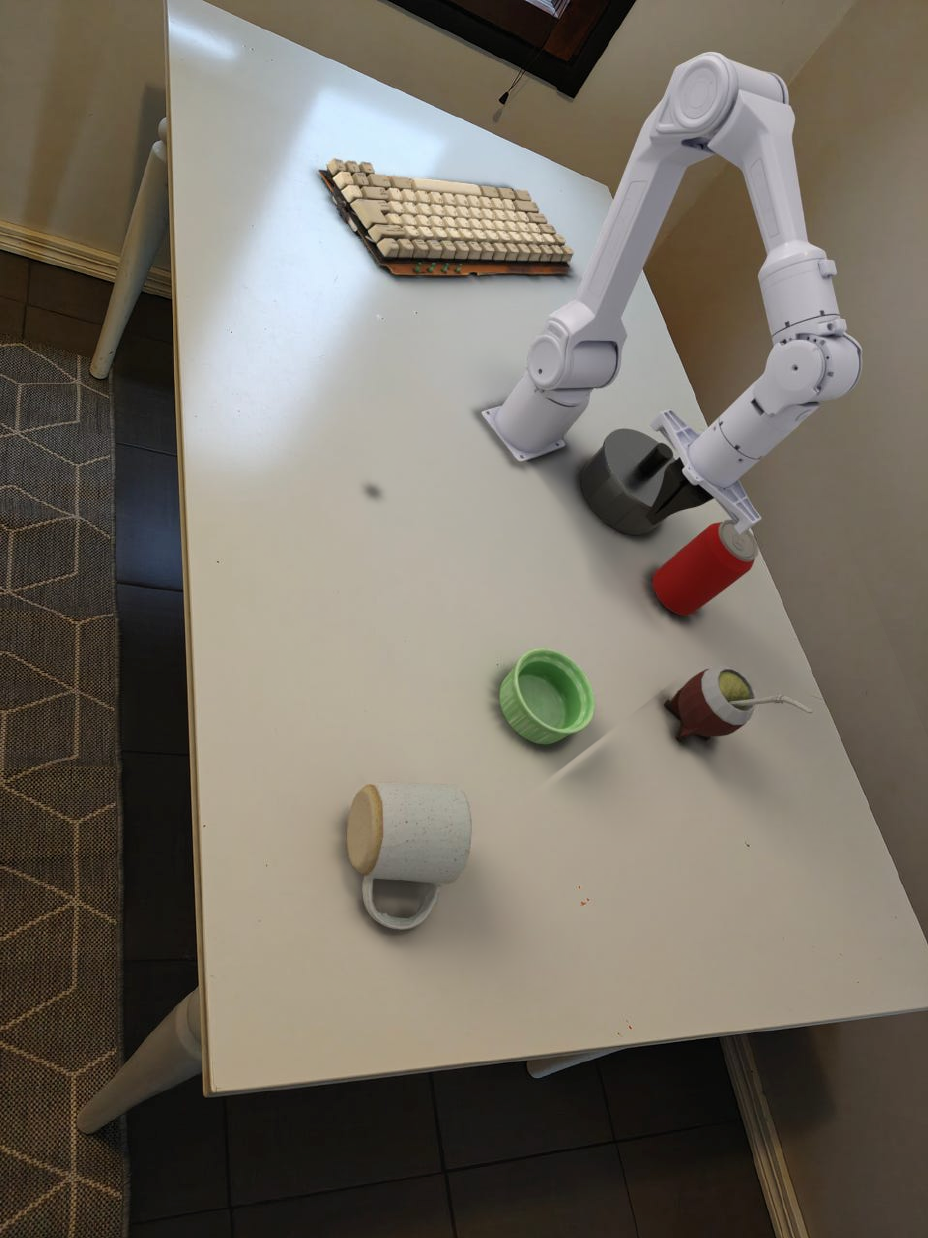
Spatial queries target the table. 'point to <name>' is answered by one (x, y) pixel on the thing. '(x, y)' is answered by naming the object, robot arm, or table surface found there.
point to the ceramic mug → (409, 840)
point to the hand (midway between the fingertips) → (653, 518)
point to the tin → (612, 499)
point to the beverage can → (705, 567)
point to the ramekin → (547, 697)
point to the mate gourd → (717, 703)
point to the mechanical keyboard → (445, 224)
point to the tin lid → (636, 464)
